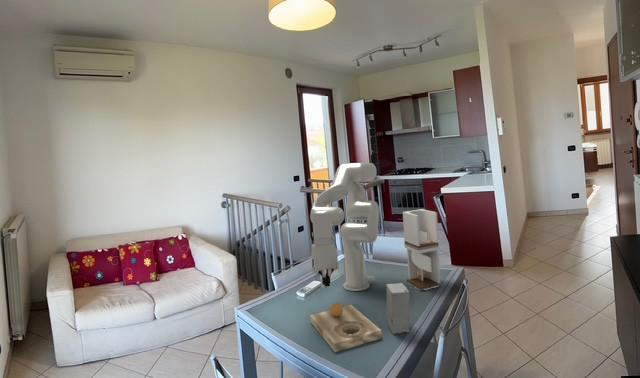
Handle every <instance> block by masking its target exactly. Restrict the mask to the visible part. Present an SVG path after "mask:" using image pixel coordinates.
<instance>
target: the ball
mask: <svg viewBox="0 0 640 378" xmlns="http://www.w3.org/2000/svg"><path fill="white" fill-rule="evenodd" d="M343 307H344V306H342V304H341V303H339V302H334V303H332V304H331V305H330V309H329V310H330V312H331V314H332V315H333V316H340V315H341V314H342V313H343Z"/></svg>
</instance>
